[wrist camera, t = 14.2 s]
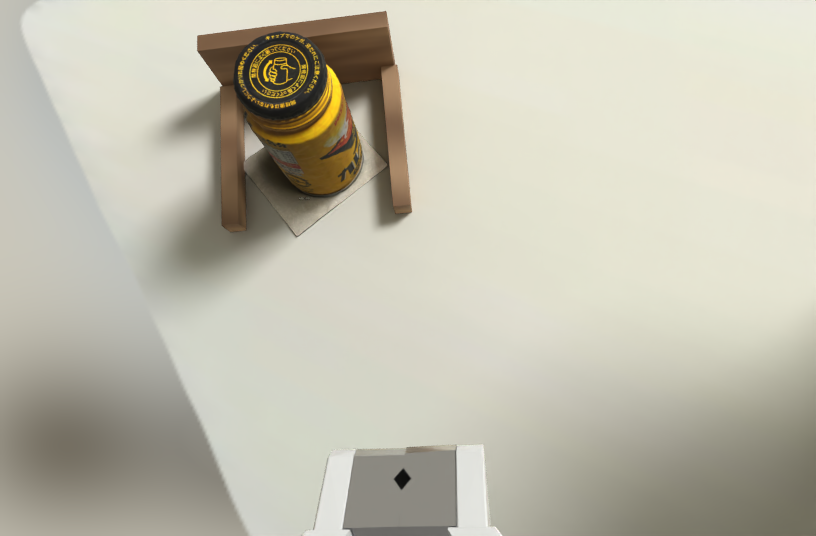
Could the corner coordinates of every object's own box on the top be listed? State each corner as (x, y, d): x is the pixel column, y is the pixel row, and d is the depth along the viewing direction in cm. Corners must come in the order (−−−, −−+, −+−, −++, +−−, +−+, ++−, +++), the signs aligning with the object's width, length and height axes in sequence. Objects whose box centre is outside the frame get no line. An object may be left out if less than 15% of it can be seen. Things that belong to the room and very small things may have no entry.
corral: (411, 212, 41) (405, 180, 35) (230, 231, 42) (194, 204, 36) (397, 62, 44) (389, 10, 38) (228, 84, 45) (194, 36, 39)
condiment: (388, 166, 42) (363, 74, 30) (297, 237, 41) (236, 171, 30) (329, 99, 44) (285, -12, 32) (241, 166, 43) (162, 78, 31)
